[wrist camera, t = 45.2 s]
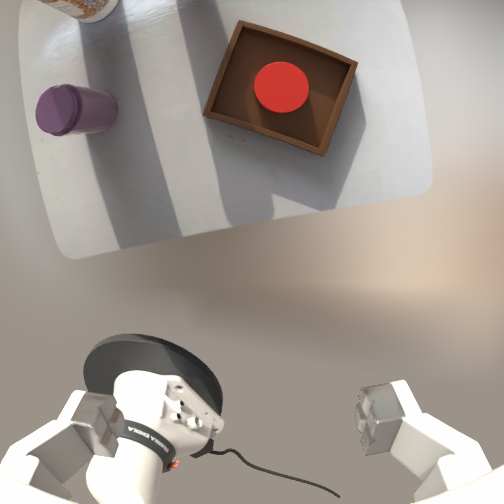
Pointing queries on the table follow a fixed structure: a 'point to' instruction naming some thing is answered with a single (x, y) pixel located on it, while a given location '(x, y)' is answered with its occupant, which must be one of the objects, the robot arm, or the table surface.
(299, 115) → the tray
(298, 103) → the lid
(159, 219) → the table surface
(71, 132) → the jar
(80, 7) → the bath foam
